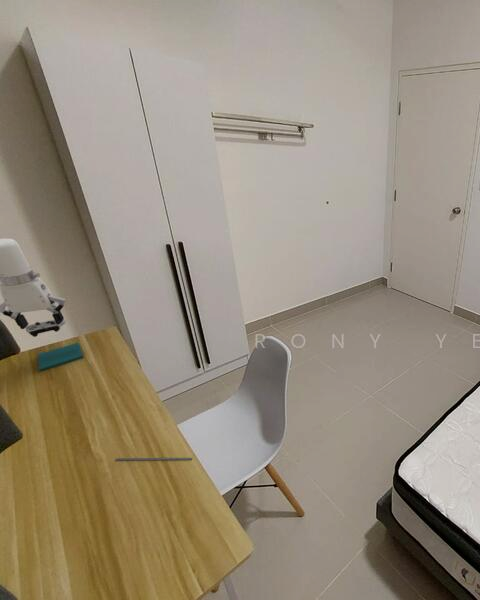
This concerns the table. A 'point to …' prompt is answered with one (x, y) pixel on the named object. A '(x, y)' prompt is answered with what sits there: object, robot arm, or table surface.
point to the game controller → (43, 327)
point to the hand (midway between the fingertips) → (43, 324)
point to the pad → (59, 356)
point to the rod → (151, 459)
